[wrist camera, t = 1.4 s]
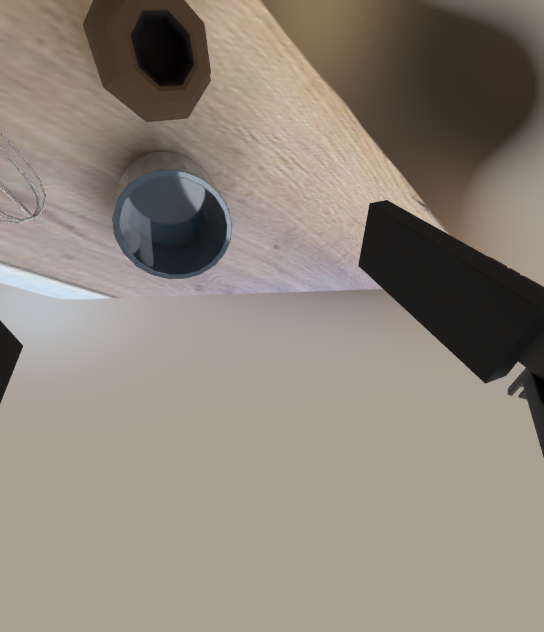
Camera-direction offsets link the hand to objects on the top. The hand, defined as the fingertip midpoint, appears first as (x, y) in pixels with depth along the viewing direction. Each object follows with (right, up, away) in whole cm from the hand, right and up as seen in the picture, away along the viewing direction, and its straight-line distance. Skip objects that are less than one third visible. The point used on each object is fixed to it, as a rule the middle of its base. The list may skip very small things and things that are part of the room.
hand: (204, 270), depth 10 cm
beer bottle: (-9, +23, +17) cm, 30 cm away
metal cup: (-10, +12, +26) cm, 31 cm away
